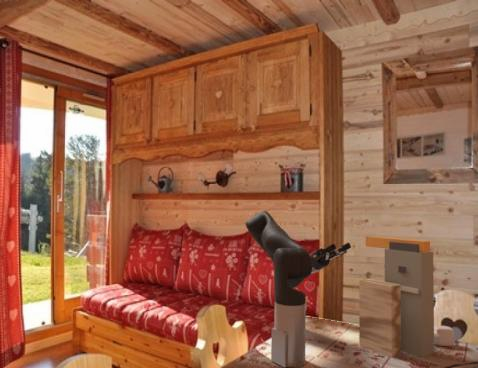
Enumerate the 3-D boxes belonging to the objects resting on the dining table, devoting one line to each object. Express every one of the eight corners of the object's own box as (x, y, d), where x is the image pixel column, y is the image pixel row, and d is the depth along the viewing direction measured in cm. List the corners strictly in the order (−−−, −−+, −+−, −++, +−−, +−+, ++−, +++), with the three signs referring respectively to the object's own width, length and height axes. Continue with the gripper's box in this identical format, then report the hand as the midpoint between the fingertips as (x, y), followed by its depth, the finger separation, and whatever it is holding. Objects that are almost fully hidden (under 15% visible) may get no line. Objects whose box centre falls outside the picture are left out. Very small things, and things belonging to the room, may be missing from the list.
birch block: (391, 357, 120) (391, 286, 121) (359, 345, 130) (359, 280, 131) (401, 353, 123) (400, 284, 124) (368, 342, 132) (368, 278, 134)
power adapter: (420, 345, 130) (420, 328, 131) (415, 340, 135) (415, 323, 136) (455, 347, 129) (455, 329, 129) (449, 342, 134) (449, 325, 134)
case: (421, 358, 119) (420, 245, 121) (384, 345, 130) (384, 241, 132) (434, 353, 124) (433, 244, 126) (397, 341, 134) (396, 240, 136)
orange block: (424, 252, 122) (424, 241, 123) (365, 246, 140) (365, 236, 141) (430, 252, 124) (430, 241, 125) (371, 245, 142) (371, 236, 143)
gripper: (299, 254, 158) (326, 237, 147) (323, 252, 166) (350, 235, 155) (306, 271, 155) (333, 255, 144) (330, 269, 163) (358, 253, 152)
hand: (342, 245), depth 150 cm, fingers open, 8 cm apart
